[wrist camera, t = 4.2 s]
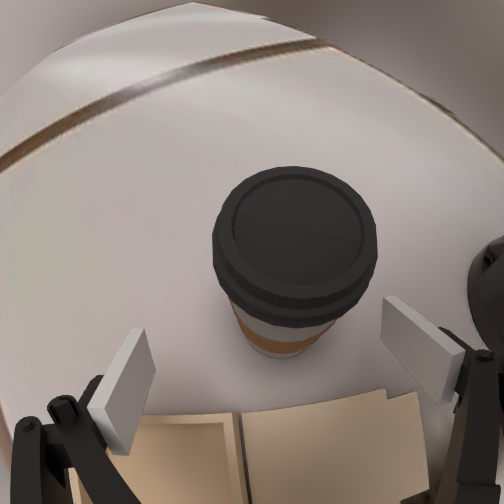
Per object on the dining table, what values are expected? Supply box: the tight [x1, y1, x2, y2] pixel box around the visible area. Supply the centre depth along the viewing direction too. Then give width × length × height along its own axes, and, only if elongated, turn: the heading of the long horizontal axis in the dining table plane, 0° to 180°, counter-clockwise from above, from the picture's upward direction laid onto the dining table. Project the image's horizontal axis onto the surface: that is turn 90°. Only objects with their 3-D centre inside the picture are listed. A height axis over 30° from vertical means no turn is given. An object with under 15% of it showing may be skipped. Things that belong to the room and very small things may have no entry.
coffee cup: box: [212, 166, 378, 359], centre depth 20 cm, size 8×8×15 cm
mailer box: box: [70, 388, 429, 504], centre depth 17 cm, size 28×12×6 cm, turn 96°
